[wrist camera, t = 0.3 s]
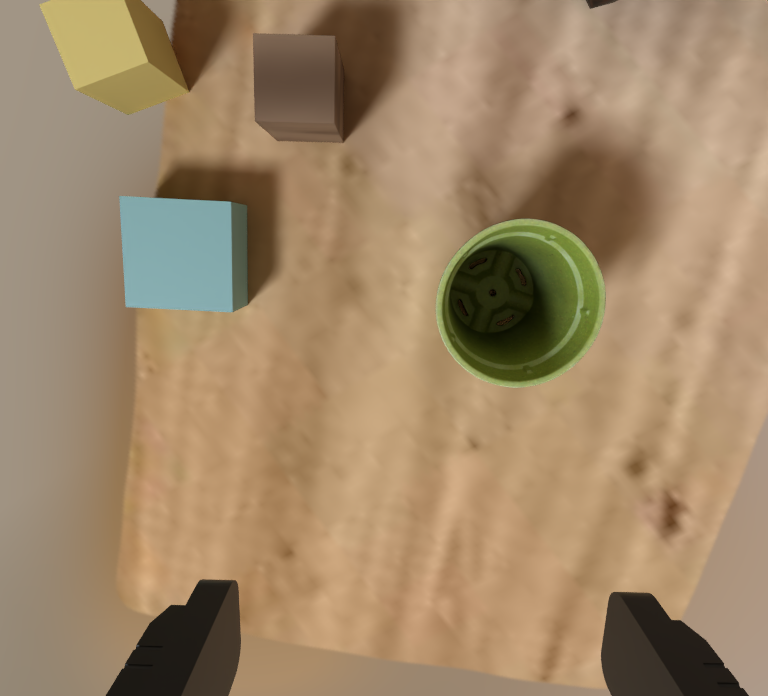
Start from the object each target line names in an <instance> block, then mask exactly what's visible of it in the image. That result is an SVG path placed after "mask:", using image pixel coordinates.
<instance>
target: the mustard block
mask: <svg viewBox="0 0 768 696" xmlns="http://www.w3.org/2000/svg"><path fill="white" fill-rule="evenodd" d="M40 7H41V10H42V12H43V15H44V17H45V19H46V22H47V24H48V26H49V29H50V31H51V34H52V36H53V38H54V41H55V43H56V45H57V48H58V50H59V53H60V55H61V57H62V60H63V62H64V64H65V67H66V69H67V72H68V74H69V76H70V79H71V81H72V83H73V86H74V88H75V90H77V91H79V92H81V93H83V94H85V95H87V96H90V97H92V98H94V99H96V100H98V101H100V102H102V103H104V104H106V105H108V106H110V107H112V108H115V109H117V110H119V111H121V112H123V113H125V114H127V115H129V114H132V113H135V112H138V111H140V110H143V109H146V108H149V107H151V106H154V105H157V104H159V103H162V102H165V101H167V100H170V99H172V98H175V97H178V96H180V95H183V94H186V93H189V90H188V87H187V85H186V82H185V80H184V77H183V74H182V72H181V69H180V66H179V64H178V61H177V58H176V56H175V53H174V50H173V48H172V45H171V43H170V40H169V37H168V34H167V32H166V29H165V26H164V24H163V21H162V20H161V19H159V18H158V17H157V16H156V15H155V14H154V13H153V12H152V11H151V10H150V9H149V8H148V7H147V6H146V5H145V4H144V3H143V2H142V1H141V0H50V1H48V2H45V3H43V4H40Z"/></svg>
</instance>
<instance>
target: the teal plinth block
mask: <svg viewBox="0 0 768 696" xmlns="http://www.w3.org/2000/svg"><path fill="white" fill-rule="evenodd" d="M120 214H121V232H122V249H123V266H124V281H125V282H124V283H125V300H126V307H137V308H158V309H178V310H198V311H218V312H234V311H236V310H238V309H240V308H242V307H244V306H246V305H248V261H247V205H243V204H239V203H234V202H226V201H207V200H187V199H167V198H146V197H128V196H127V197H126V196H120Z"/></svg>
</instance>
